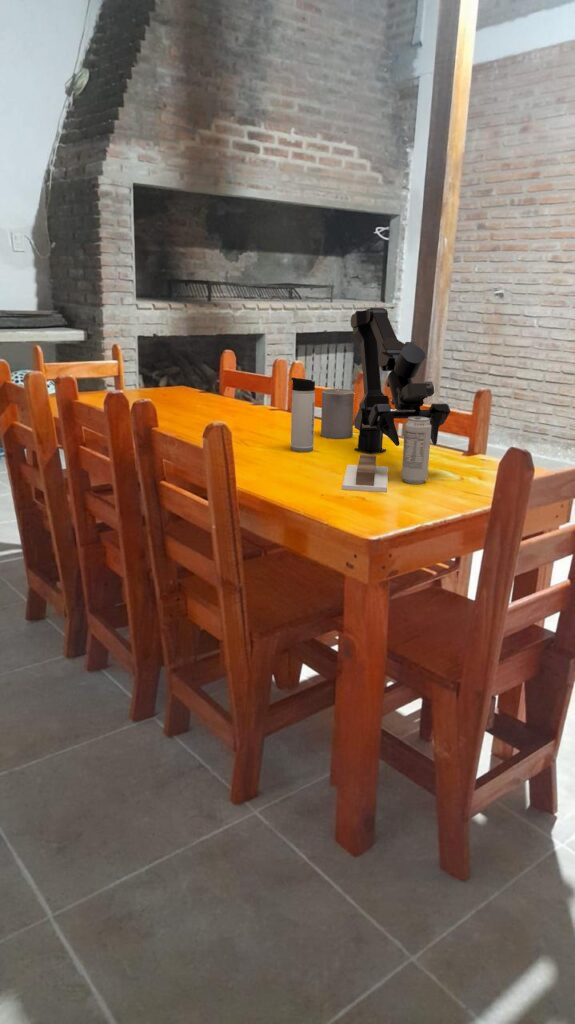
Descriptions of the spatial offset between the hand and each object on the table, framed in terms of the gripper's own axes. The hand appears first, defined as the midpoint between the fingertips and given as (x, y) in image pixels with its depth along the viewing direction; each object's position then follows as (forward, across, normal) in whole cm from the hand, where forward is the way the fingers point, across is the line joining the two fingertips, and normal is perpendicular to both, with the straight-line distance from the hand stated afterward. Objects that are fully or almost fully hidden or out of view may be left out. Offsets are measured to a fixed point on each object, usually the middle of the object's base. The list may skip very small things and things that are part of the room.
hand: (416, 444), depth 167 cm
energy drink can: (+6, 0, +6) cm, 9 cm away
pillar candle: (-33, -4, +45) cm, 56 cm away
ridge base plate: (+4, -11, +8) cm, 14 cm away
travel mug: (-20, -19, +32) cm, 42 cm away
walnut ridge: (+4, -11, +8) cm, 14 cm away
